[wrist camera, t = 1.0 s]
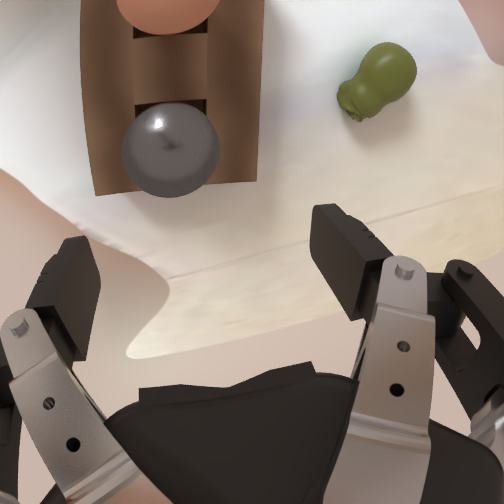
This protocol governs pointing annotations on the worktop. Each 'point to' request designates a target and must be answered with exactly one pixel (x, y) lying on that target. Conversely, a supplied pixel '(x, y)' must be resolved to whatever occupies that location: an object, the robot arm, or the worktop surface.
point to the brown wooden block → (171, 84)
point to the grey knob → (170, 149)
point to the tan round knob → (166, 14)
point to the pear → (378, 81)
